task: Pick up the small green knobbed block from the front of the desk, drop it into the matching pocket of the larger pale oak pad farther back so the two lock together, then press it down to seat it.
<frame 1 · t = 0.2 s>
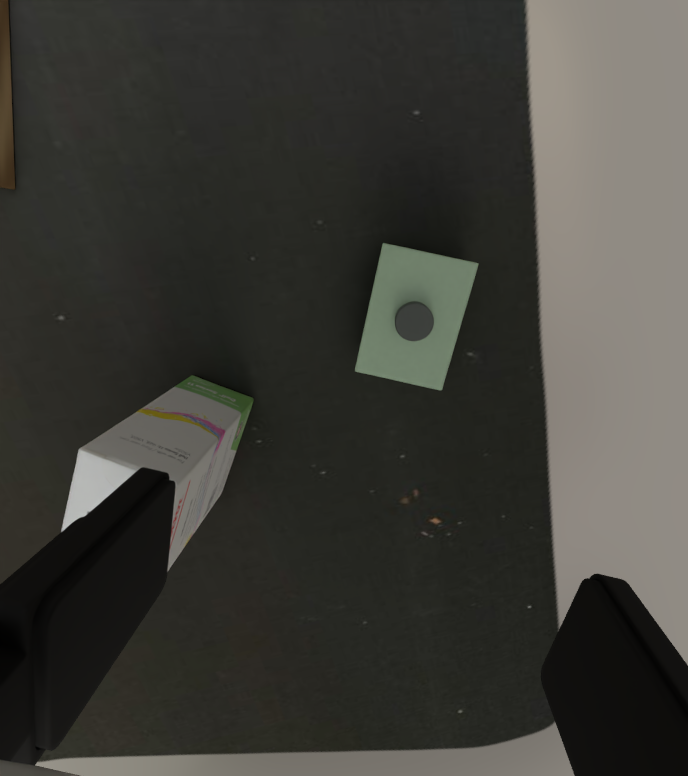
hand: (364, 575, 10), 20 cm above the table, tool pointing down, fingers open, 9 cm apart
green knobbed block: (409, 309, 28), on the table
ink box: (208, 435, 32), on the table
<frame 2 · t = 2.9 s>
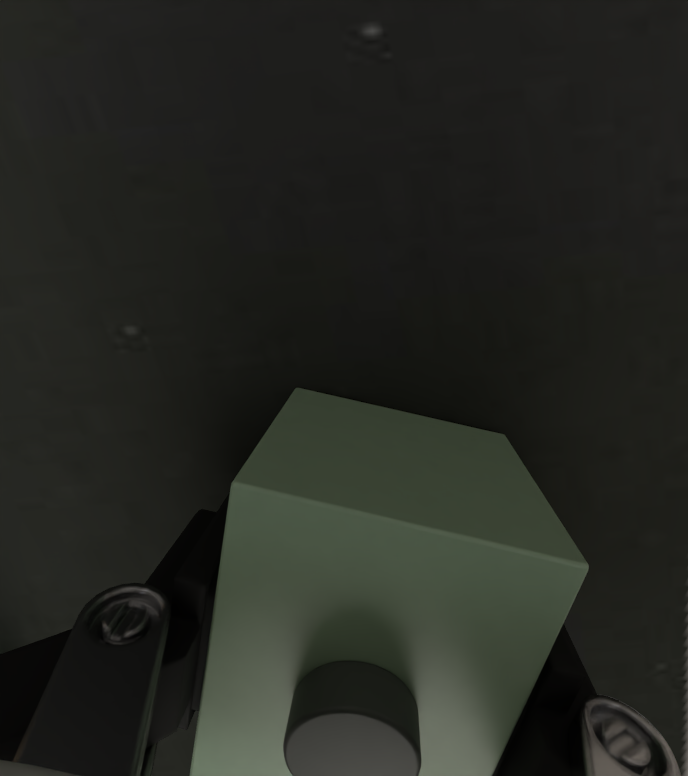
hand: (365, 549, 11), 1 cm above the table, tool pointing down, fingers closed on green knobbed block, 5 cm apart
green knobbed block: (367, 533, 11), on the table, touching gripper
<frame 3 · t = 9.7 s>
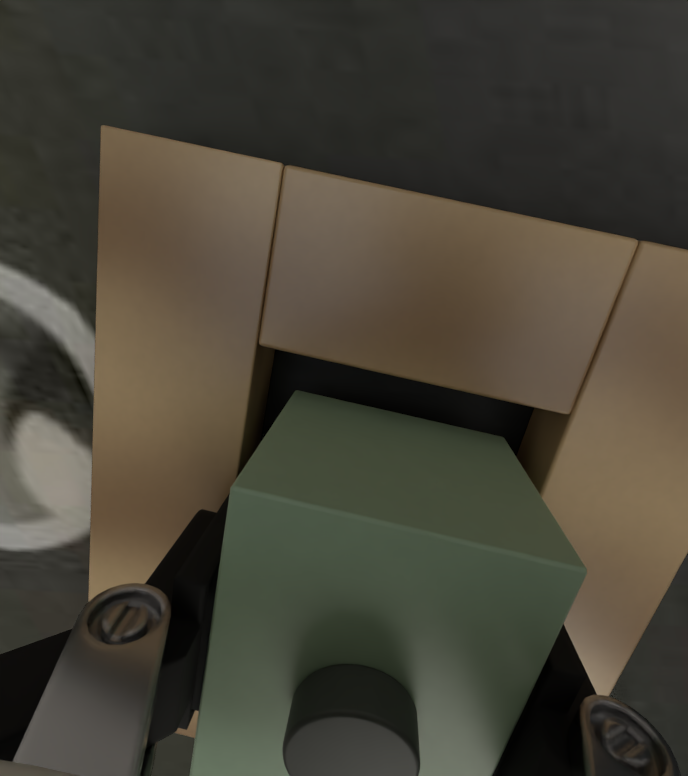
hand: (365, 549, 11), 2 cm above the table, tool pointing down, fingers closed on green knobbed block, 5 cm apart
green knobbed block: (366, 535, 11), point 1 cm above the table, touching gripper
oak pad: (369, 505, 12), on the table
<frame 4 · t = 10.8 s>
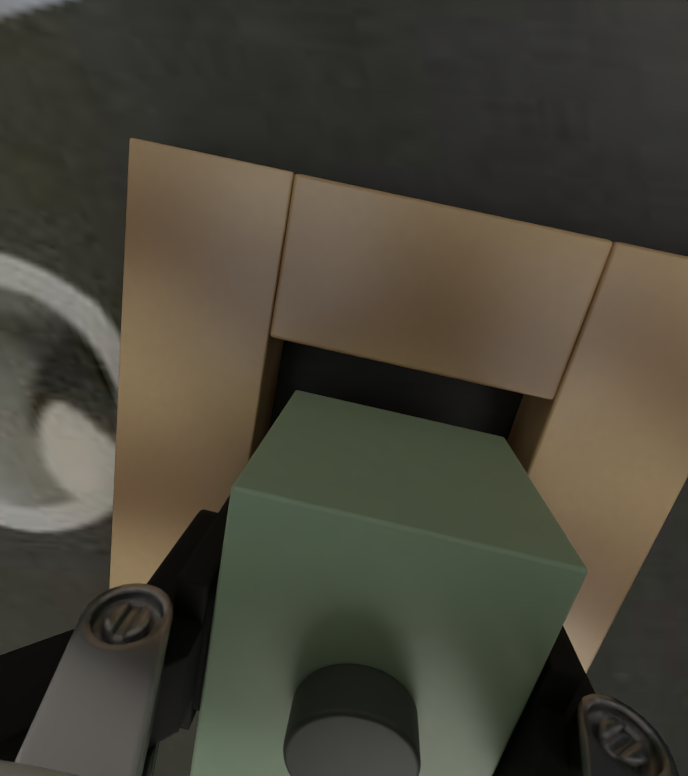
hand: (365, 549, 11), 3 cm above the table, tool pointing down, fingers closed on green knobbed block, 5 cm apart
green knobbed block: (366, 535, 11), point 2 cm above the table, touching gripper
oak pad: (371, 487, 13), on the table
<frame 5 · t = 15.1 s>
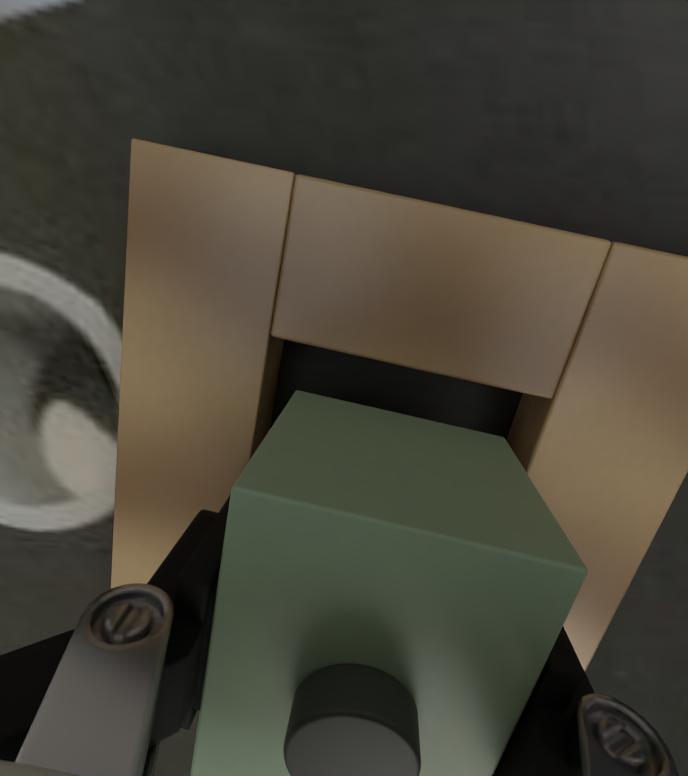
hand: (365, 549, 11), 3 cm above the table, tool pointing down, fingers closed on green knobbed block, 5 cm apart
green knobbed block: (366, 535, 11), point 2 cm above the table, touching gripper
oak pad: (371, 486, 13), on the table
when the fingers open (3 cm above the table, at t = 19.0 s): green knobbed block drops 3 cm, resting in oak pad.
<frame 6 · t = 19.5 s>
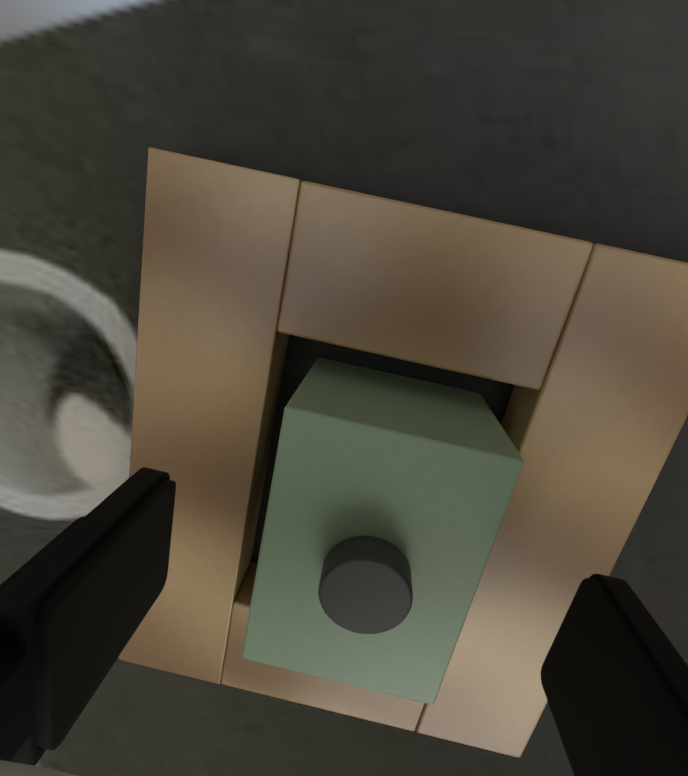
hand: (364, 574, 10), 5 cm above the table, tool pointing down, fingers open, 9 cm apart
green knobbed block: (373, 475, 14), resting in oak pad
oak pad: (371, 475, 14), on the table
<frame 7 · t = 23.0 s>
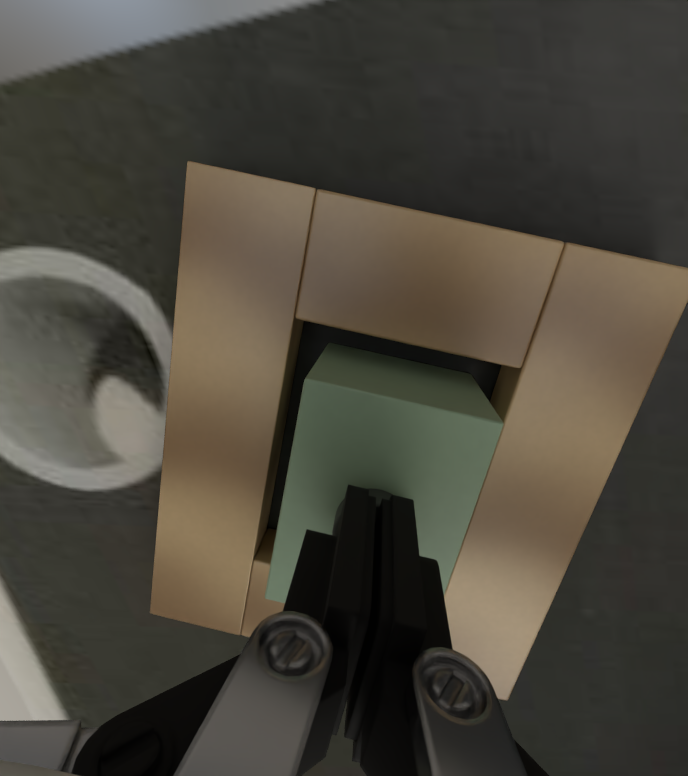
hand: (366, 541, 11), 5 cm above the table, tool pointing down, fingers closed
green knobbed block: (376, 448, 16), resting in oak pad, touching gripper
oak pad: (375, 448, 16), on the table
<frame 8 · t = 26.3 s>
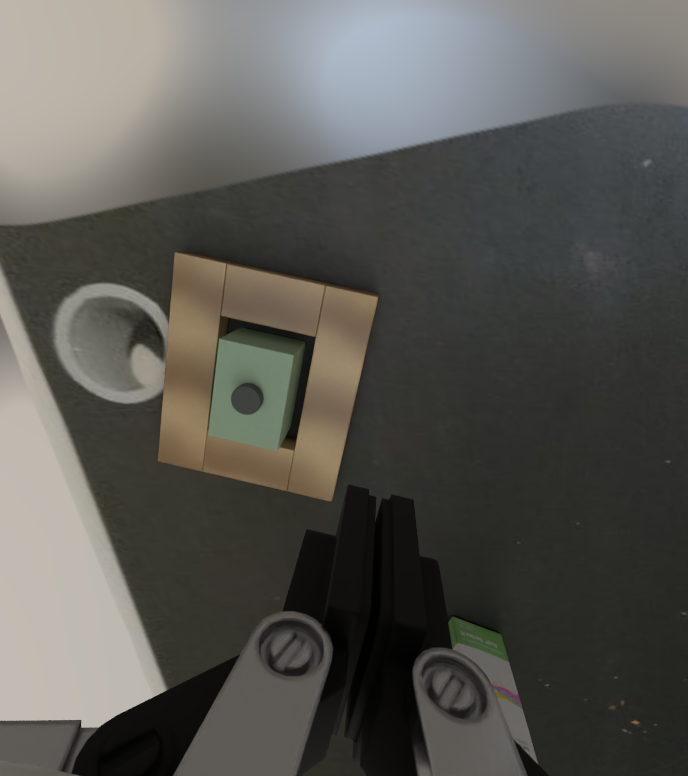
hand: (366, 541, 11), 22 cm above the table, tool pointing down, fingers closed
green knobbed block: (266, 378, 33), resting in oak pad
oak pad: (266, 378, 33), on the table
ink box: (454, 654, 40), on the table
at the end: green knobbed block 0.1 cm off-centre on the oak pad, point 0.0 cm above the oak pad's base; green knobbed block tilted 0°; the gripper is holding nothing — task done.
